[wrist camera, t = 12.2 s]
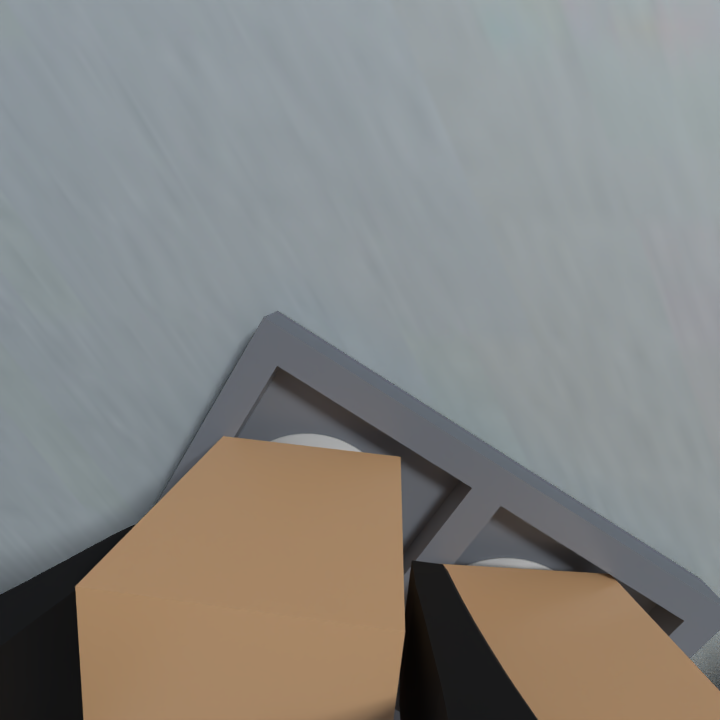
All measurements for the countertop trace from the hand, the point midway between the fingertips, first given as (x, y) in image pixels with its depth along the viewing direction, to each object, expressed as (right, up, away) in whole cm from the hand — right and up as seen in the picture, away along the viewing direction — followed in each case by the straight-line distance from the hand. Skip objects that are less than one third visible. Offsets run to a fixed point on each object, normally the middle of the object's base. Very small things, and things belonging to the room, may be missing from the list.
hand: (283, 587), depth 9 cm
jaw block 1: (0, 0, +2) cm, 2 cm away
